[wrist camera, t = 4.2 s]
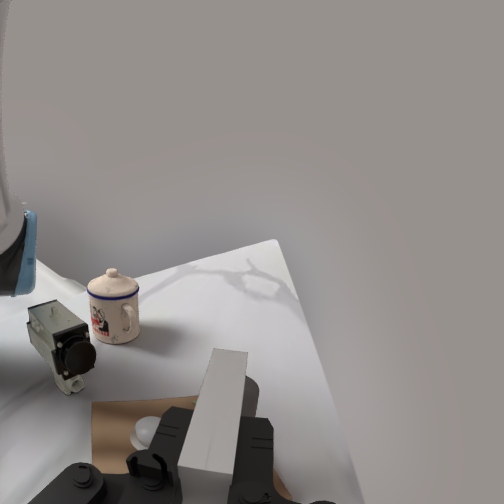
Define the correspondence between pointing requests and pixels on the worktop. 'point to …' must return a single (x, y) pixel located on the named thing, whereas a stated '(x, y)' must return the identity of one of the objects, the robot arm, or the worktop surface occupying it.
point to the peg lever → (150, 423)
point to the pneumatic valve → (62, 343)
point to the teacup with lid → (114, 307)
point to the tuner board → (133, 432)
